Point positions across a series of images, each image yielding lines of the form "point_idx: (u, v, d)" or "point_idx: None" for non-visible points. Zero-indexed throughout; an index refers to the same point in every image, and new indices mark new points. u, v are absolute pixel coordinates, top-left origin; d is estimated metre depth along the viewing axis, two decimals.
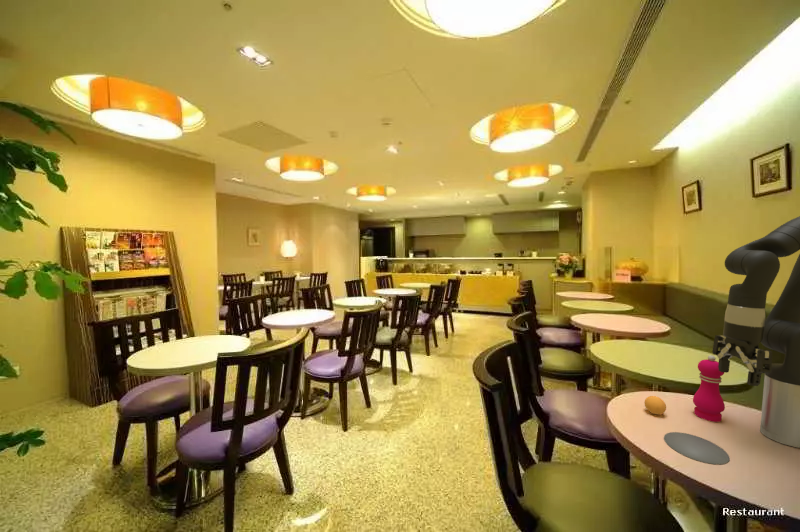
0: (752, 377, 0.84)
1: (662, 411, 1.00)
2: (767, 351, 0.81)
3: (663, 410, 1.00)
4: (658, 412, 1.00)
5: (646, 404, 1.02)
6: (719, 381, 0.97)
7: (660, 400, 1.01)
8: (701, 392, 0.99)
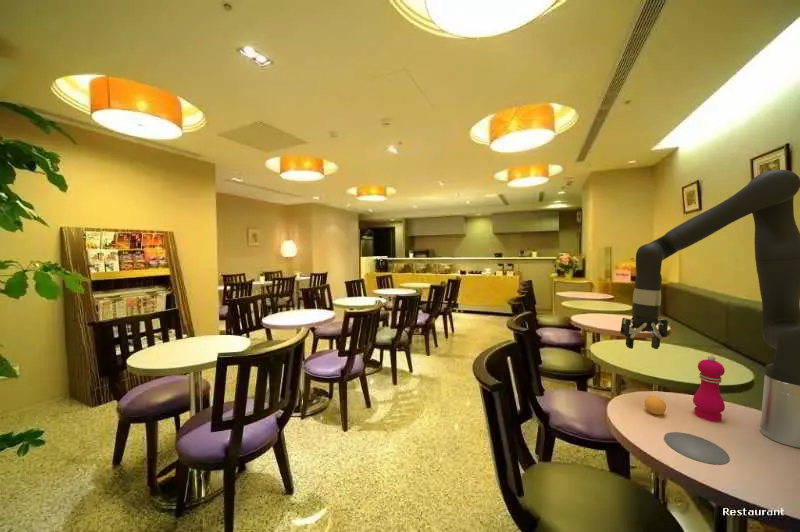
0: None
1: (662, 411, 1.00)
2: (625, 319, 1.07)
3: (663, 410, 1.00)
4: (658, 412, 1.00)
5: (646, 404, 1.02)
6: (719, 381, 0.97)
7: (660, 400, 1.01)
8: (701, 392, 0.99)
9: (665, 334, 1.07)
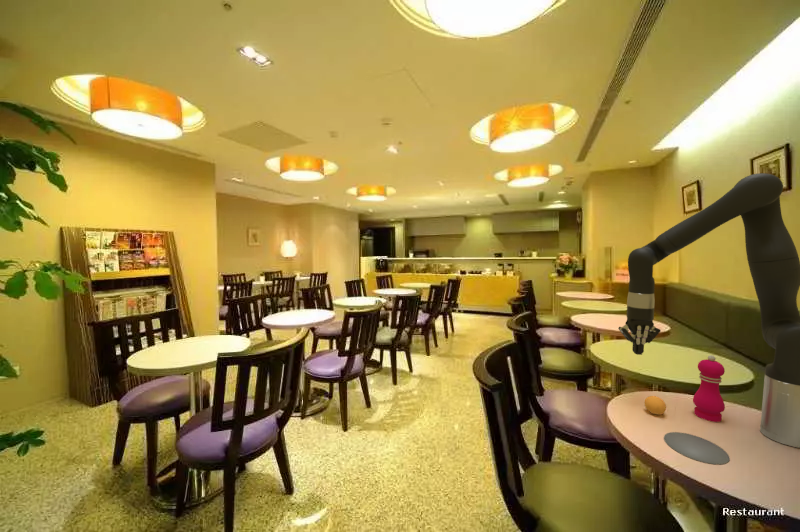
0: None
1: (662, 411, 1.00)
2: (621, 329, 1.10)
3: (663, 410, 1.00)
4: (658, 412, 1.00)
5: (646, 404, 1.02)
6: (719, 381, 0.97)
7: (660, 400, 1.01)
8: (701, 392, 0.99)
9: (649, 340, 1.08)
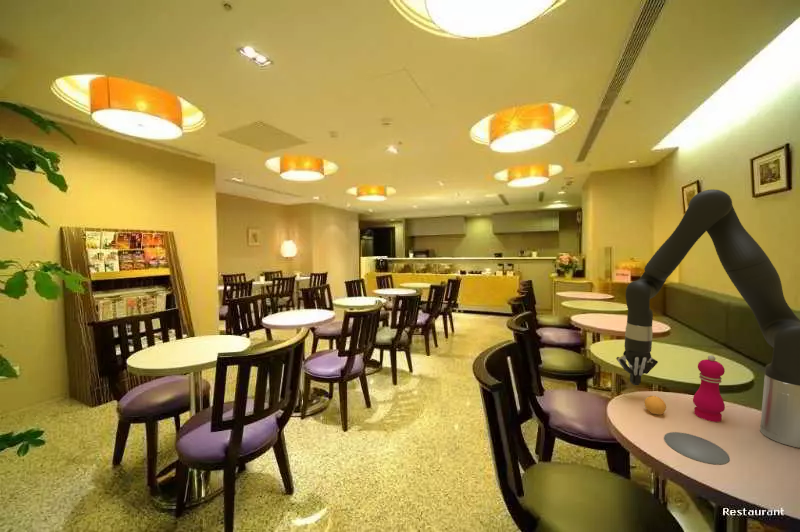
0: None
1: (662, 411, 1.00)
2: (618, 359, 1.11)
3: (663, 410, 1.00)
4: (658, 412, 1.00)
5: (646, 404, 1.02)
6: (719, 381, 0.97)
7: (660, 400, 1.01)
8: (701, 392, 0.99)
9: (646, 371, 1.09)
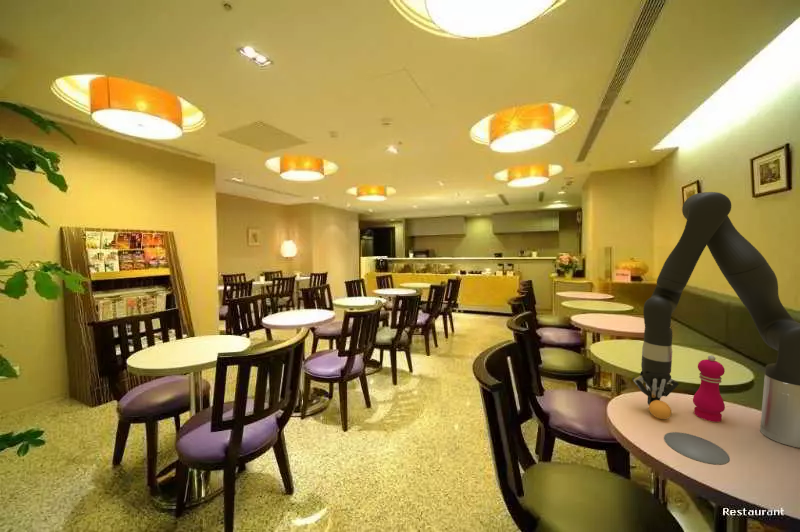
0: None
1: (665, 418, 0.98)
2: (635, 380, 1.03)
3: (666, 418, 0.98)
4: (660, 418, 0.99)
5: (651, 410, 1.00)
6: (719, 381, 0.97)
7: (667, 411, 0.97)
8: (701, 392, 0.99)
9: (666, 394, 1.01)
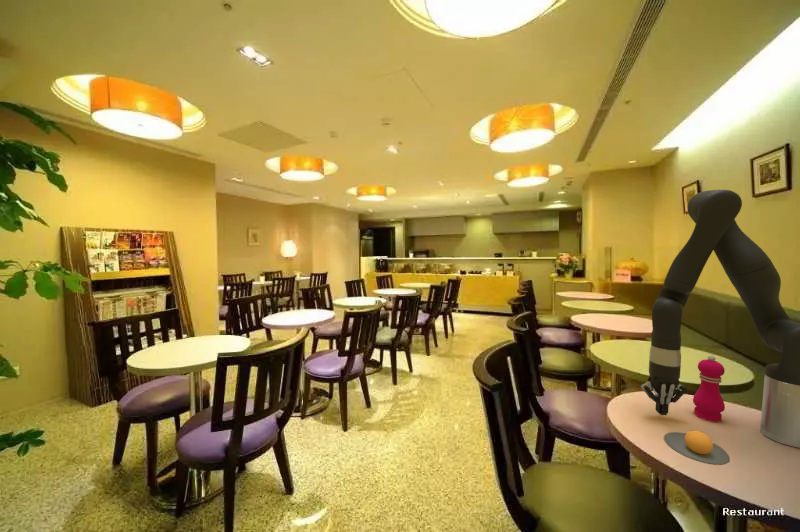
0: None
1: (708, 452, 0.81)
2: (643, 386, 0.99)
3: (710, 451, 0.81)
4: (703, 453, 0.82)
5: (688, 442, 0.84)
6: (719, 381, 0.97)
7: (707, 439, 0.82)
8: (701, 392, 0.99)
9: (675, 400, 0.97)
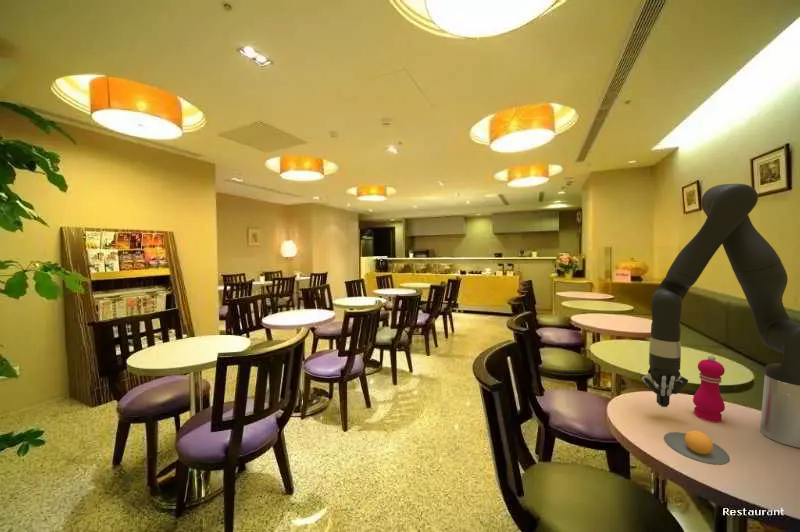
0: None
1: (708, 452, 0.81)
2: (643, 378, 0.99)
3: (710, 451, 0.81)
4: (703, 453, 0.82)
5: (688, 442, 0.84)
6: (719, 381, 0.97)
7: (707, 439, 0.82)
8: (701, 392, 0.99)
9: (675, 391, 0.97)
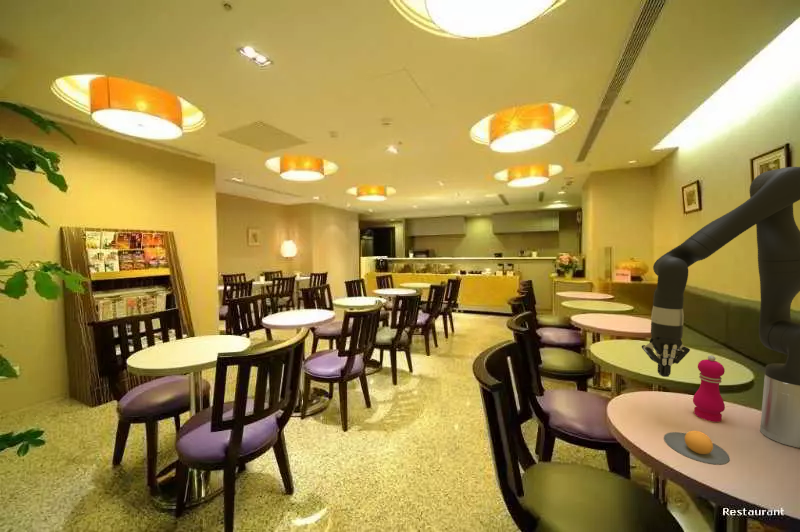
0: None
1: (708, 452, 0.81)
2: (644, 348, 0.98)
3: (710, 451, 0.81)
4: (703, 453, 0.82)
5: (688, 442, 0.84)
6: (719, 381, 0.97)
7: (707, 439, 0.82)
8: (701, 392, 0.99)
9: (677, 361, 0.96)
